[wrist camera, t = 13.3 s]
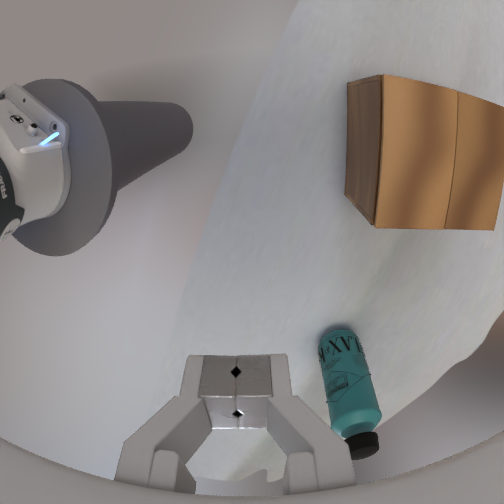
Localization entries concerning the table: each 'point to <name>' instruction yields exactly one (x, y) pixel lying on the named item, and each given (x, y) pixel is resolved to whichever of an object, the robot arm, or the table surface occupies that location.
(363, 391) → the beverage bottle
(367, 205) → the carton
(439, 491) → the robot arm
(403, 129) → the flap
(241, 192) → the table surface
